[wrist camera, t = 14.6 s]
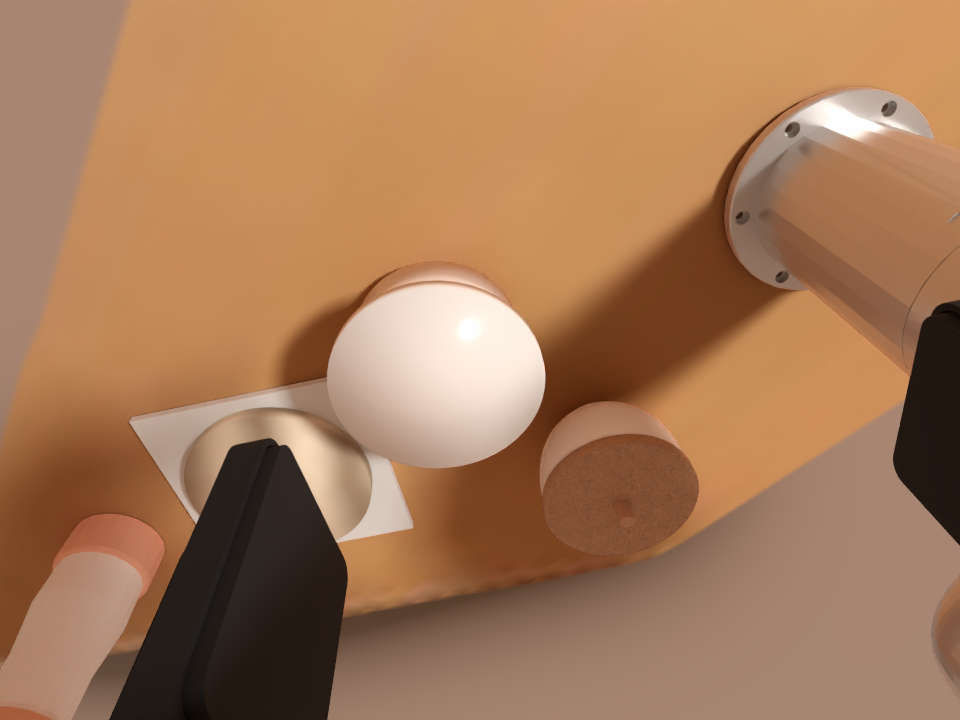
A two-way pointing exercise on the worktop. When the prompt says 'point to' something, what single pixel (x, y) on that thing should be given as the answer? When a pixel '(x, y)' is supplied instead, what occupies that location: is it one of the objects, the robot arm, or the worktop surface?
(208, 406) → the mat
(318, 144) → the worktop surface
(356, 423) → the mushroom
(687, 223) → the worktop surface
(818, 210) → the robot arm
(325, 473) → the lid
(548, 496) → the lidded jar
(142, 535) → the pepper shaker
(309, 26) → the worktop surface
